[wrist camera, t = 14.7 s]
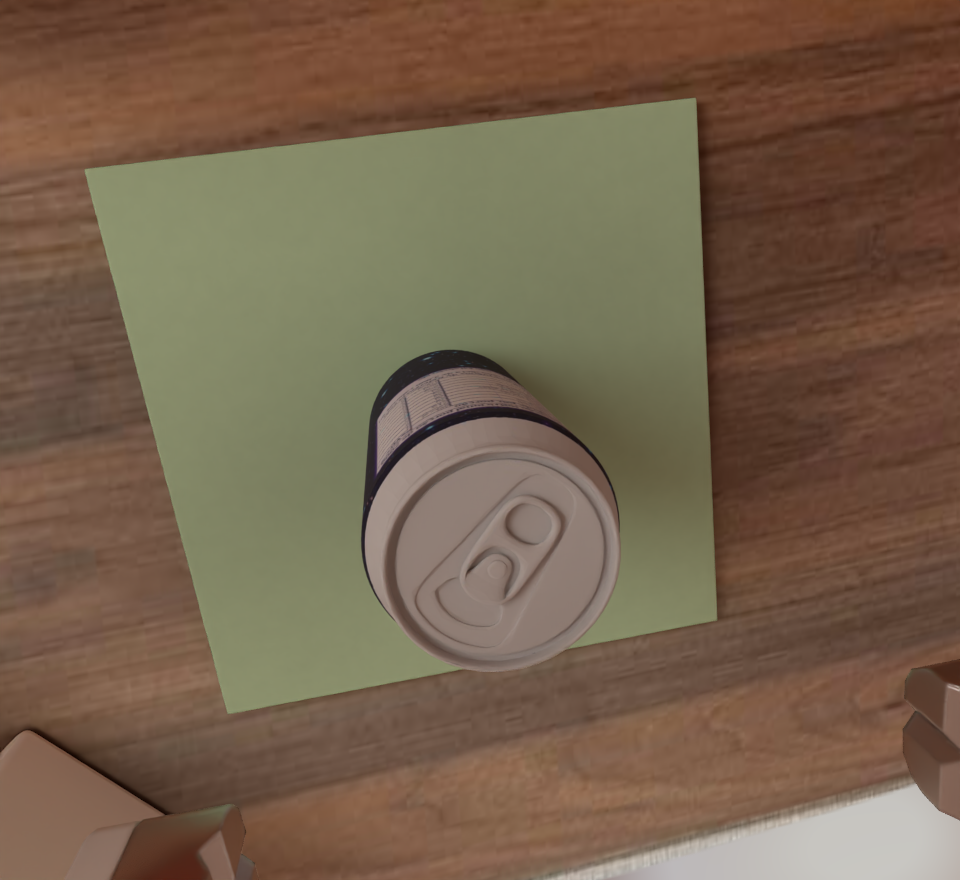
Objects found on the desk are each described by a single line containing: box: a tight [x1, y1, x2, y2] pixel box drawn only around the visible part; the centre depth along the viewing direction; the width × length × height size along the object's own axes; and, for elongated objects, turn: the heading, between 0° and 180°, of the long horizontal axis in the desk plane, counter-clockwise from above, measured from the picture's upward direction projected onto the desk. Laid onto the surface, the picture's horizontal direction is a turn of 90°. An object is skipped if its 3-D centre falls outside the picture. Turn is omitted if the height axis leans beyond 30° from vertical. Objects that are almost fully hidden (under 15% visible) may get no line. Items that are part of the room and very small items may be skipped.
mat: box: [85, 98, 717, 714], centre depth 26 cm, size 20×20×1 cm
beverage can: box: [361, 350, 621, 672], centre depth 20 cm, size 6×6×12 cm
